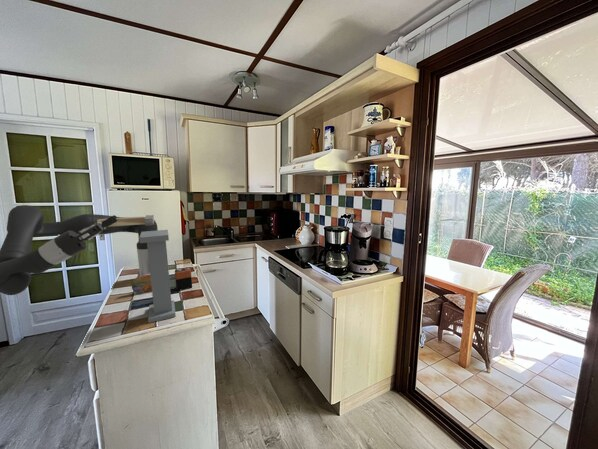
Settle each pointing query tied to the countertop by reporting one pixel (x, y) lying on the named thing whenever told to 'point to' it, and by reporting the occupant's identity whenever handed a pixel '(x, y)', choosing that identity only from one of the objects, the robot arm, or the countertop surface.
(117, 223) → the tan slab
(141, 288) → the tin
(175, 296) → the countertop surface
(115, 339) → the countertop surface
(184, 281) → the battery
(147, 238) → the shelf post
